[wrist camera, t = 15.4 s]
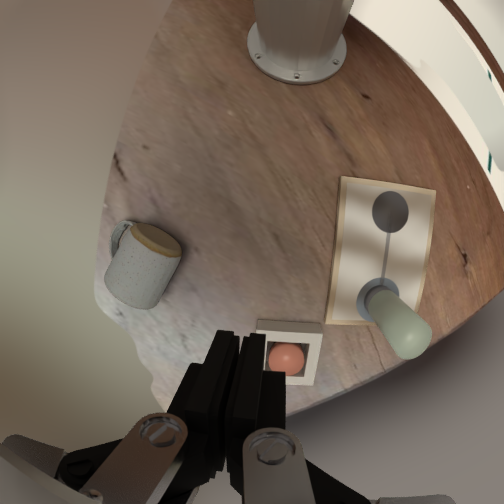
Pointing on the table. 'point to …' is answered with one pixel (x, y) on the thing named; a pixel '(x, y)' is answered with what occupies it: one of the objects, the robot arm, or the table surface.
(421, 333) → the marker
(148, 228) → the ceramic mug
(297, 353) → the button
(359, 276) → the board
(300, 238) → the table surface
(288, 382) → the button housing
